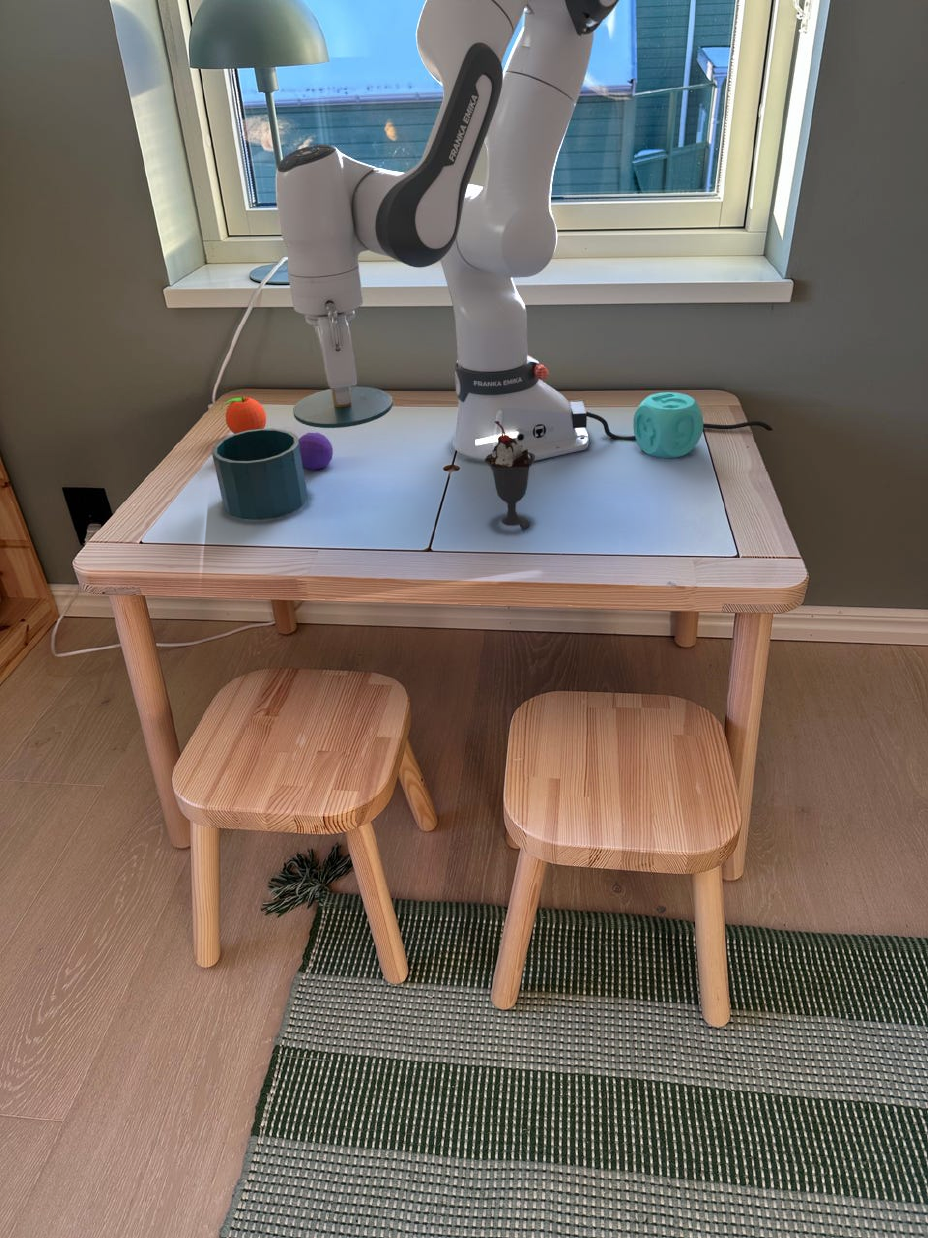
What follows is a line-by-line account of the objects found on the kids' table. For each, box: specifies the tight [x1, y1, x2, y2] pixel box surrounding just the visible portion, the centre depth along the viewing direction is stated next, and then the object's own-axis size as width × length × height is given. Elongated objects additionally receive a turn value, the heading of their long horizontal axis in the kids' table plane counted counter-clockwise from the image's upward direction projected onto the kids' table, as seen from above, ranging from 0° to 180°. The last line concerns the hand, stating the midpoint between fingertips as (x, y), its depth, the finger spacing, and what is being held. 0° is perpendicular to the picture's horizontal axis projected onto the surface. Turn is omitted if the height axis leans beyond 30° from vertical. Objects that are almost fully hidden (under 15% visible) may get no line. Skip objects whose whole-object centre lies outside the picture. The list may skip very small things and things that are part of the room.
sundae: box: [484, 421, 535, 531], centre depth 125 cm, size 7×7×15 cm
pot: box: [211, 428, 308, 521], centre depth 136 cm, size 12×12×10 cm
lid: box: [292, 386, 394, 429], centre depth 123 cm, size 13×13×5 cm
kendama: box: [298, 432, 334, 471], centre depth 149 cm, size 6×6×20 cm
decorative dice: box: [632, 391, 704, 459], centre depth 146 cm, size 8×8×8 cm
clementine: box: [220, 396, 267, 434], centre depth 159 cm, size 8×7×7 cm
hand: (342, 397), depth 123 cm, fingers closed on lid, 2 cm apart
